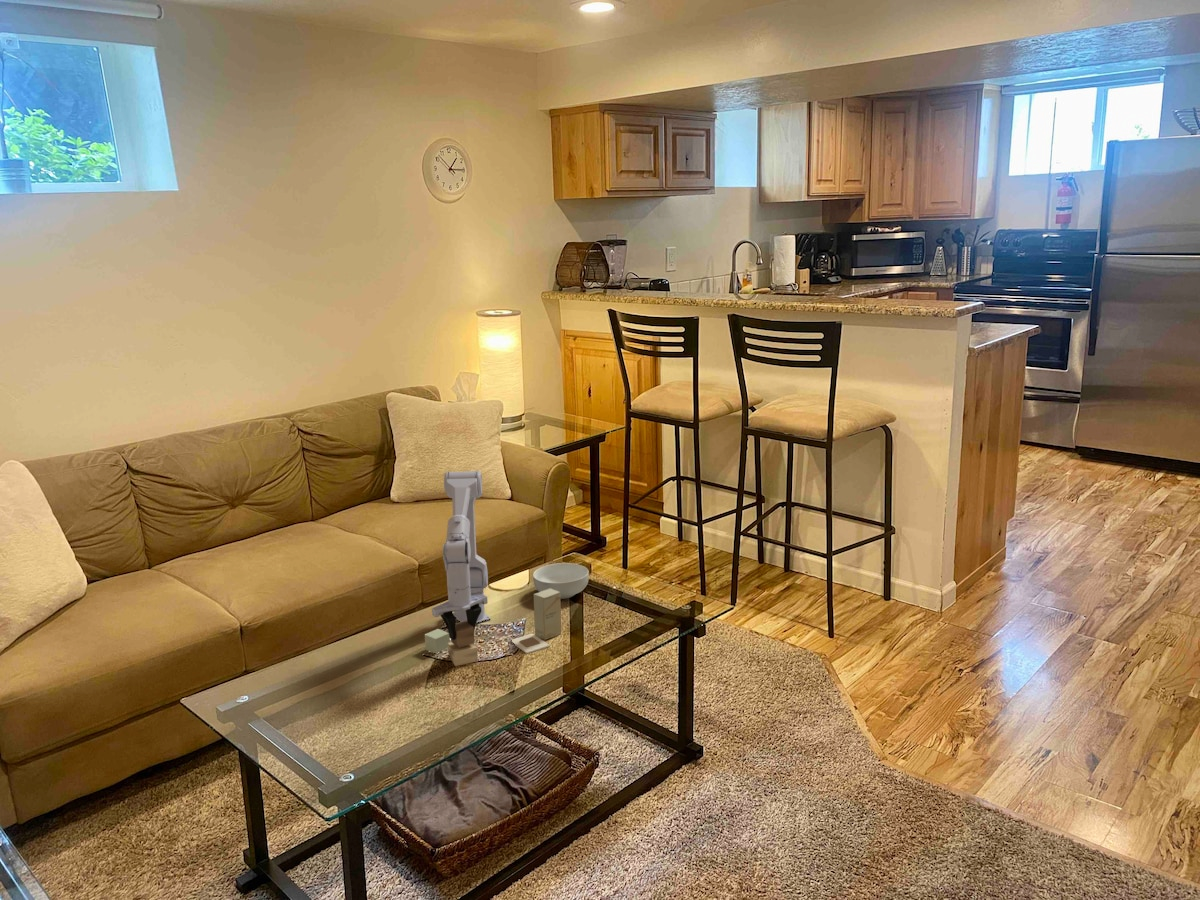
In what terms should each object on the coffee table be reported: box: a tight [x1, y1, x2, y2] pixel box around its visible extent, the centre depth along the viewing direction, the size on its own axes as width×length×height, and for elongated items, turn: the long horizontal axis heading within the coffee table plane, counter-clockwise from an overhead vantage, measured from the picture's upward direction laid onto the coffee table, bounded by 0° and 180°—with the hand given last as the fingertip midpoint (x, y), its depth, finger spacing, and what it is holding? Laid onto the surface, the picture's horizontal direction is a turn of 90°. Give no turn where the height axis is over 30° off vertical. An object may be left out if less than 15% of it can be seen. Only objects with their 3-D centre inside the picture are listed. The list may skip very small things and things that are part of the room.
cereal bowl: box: [532, 562, 590, 600], centre depth 268 cm, size 17×17×7 cm
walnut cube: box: [450, 621, 476, 648], centre depth 226 cm, size 4×4×4 cm
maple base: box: [447, 641, 479, 667], centre depth 228 cm, size 6×6×4 cm
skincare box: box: [533, 588, 562, 641], centre depth 240 cm, size 6×4×12 cm
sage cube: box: [424, 628, 451, 655], centre depth 233 cm, size 4×4×4 cm
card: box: [511, 633, 551, 655], centre depth 236 cm, size 9×7×1 cm
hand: (461, 635), depth 227 cm, fingers closed on walnut cube, 4 cm apart
